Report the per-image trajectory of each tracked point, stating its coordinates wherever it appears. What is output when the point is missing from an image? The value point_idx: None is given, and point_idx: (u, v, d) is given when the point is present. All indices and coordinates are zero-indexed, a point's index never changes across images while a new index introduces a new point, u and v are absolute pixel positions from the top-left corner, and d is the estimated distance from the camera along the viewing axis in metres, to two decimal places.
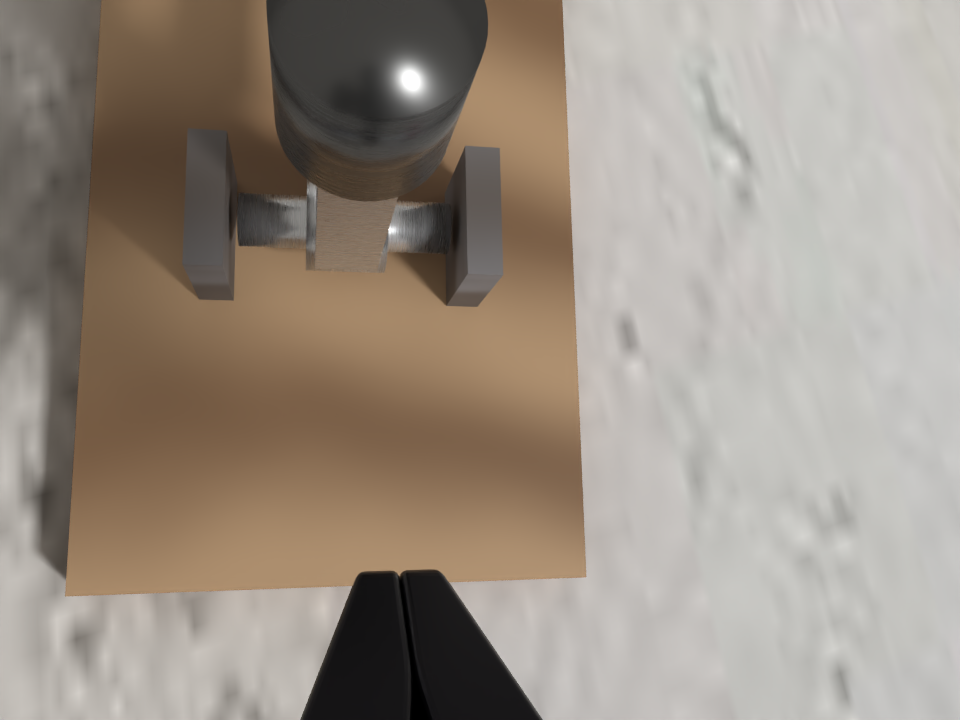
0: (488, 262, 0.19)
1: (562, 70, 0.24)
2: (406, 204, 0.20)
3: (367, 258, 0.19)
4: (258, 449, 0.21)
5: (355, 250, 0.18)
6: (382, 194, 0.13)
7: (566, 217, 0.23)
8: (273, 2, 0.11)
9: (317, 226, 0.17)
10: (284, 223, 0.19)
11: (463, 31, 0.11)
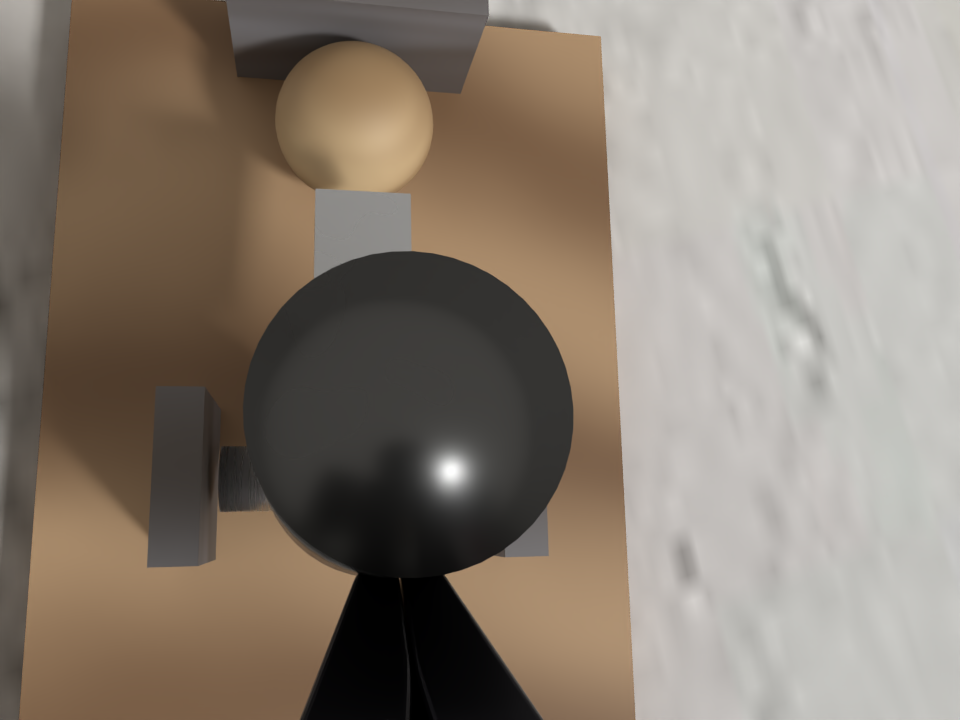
0: (530, 540, 0.16)
1: (608, 251, 0.20)
2: None
3: None
4: None
5: None
6: None
7: (615, 433, 0.19)
8: (253, 408, 0.07)
9: None
10: None
11: (538, 426, 0.08)
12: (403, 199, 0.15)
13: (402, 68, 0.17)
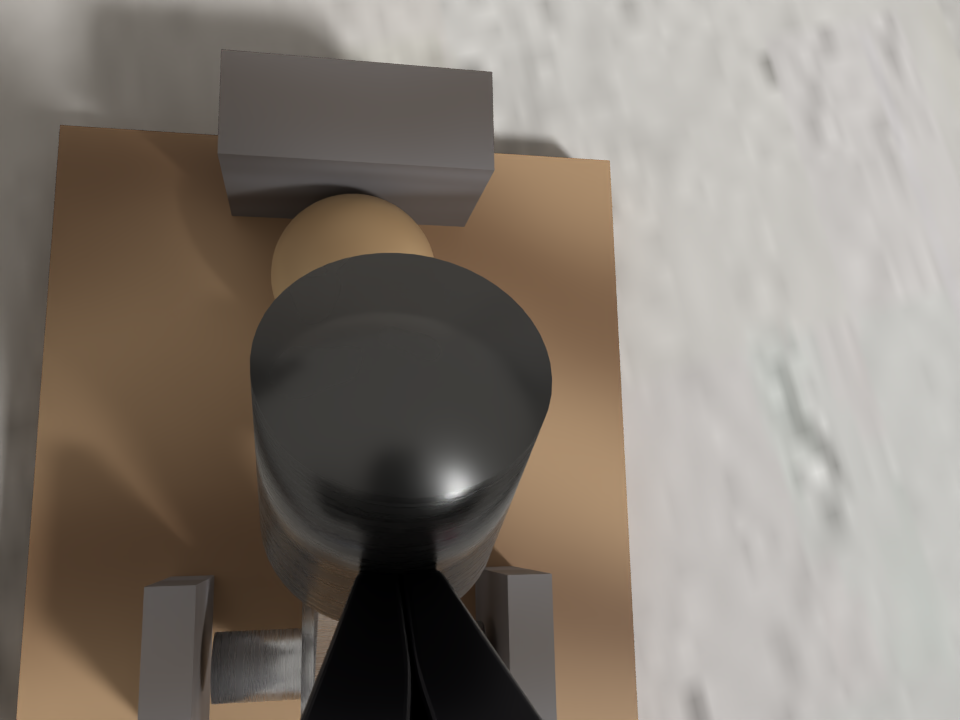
0: None
1: (618, 390, 0.19)
2: None
3: None
4: None
5: None
6: None
7: (625, 586, 0.19)
8: (259, 357, 0.08)
9: (316, 668, 0.12)
10: (272, 667, 0.15)
11: (519, 376, 0.08)
12: None
13: (404, 226, 0.16)
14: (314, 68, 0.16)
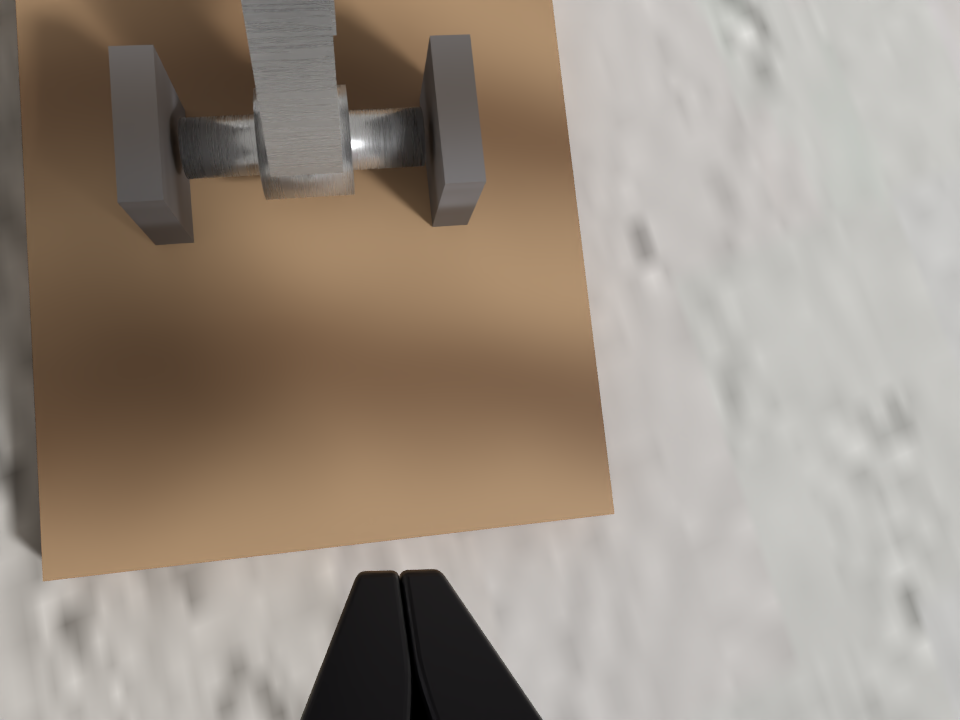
0: (468, 168, 0.17)
1: None
2: (370, 109, 0.18)
3: (325, 136, 0.16)
4: (237, 404, 0.19)
5: (307, 115, 0.16)
6: None
7: (560, 114, 0.20)
8: None
9: (249, 46, 0.14)
10: (232, 133, 0.17)
11: None
12: None
13: None
14: None
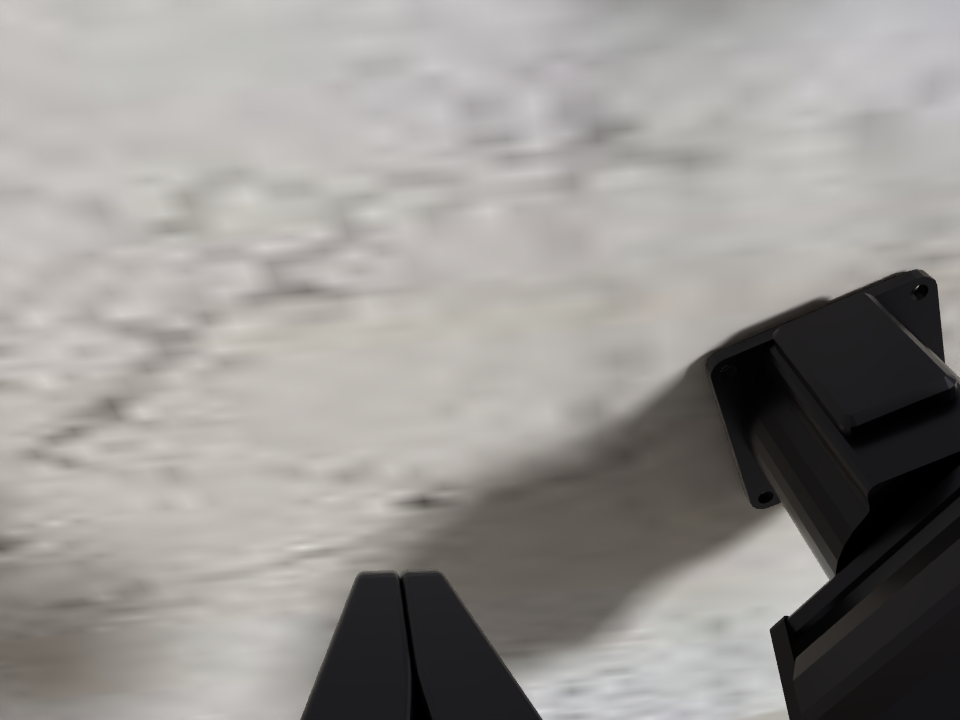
0: None
1: None
2: None
3: None
4: None
5: None
6: None
7: None
8: None
9: None
10: None
11: None
12: None
13: None
14: None
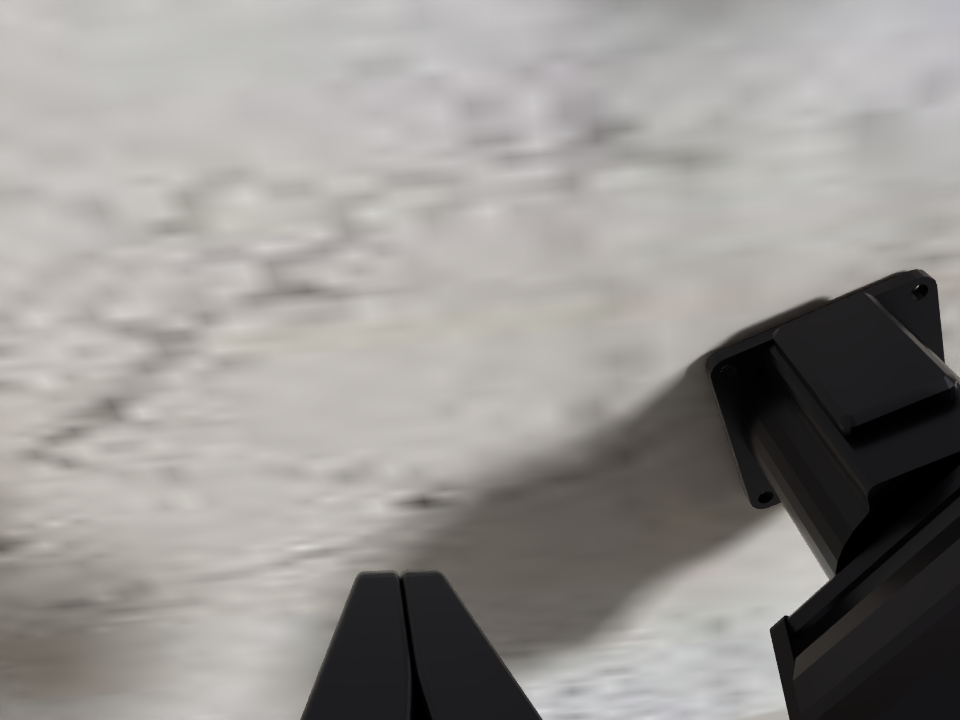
0: None
1: None
2: None
3: None
4: None
5: None
6: None
7: None
8: None
9: None
10: None
11: None
12: None
13: None
14: None
